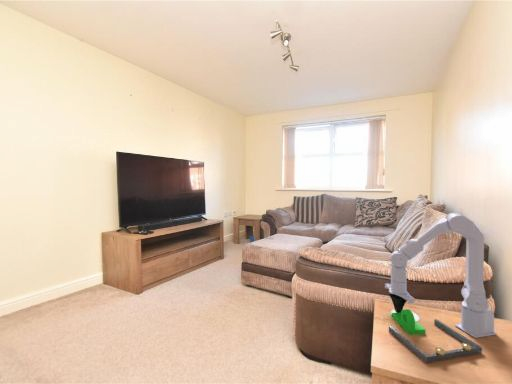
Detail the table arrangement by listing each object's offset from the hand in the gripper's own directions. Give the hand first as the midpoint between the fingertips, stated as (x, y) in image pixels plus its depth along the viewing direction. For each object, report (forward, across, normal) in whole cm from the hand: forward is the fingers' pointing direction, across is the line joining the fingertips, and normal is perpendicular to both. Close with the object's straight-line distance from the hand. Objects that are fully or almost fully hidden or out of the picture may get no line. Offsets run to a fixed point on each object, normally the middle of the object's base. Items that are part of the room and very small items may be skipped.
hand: (398, 311), depth 108 cm
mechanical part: (+2, +7, -2) cm, 7 cm away
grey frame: (+1, +18, -1) cm, 18 cm away
